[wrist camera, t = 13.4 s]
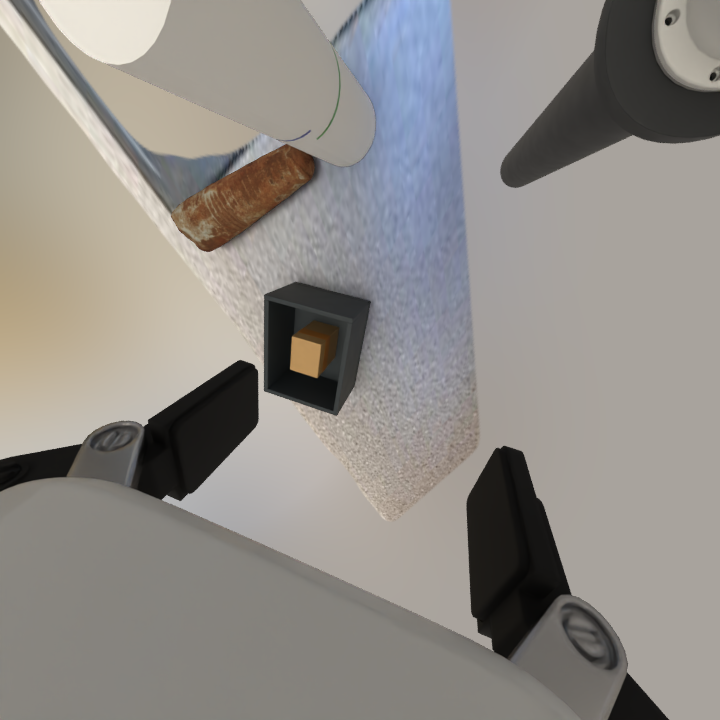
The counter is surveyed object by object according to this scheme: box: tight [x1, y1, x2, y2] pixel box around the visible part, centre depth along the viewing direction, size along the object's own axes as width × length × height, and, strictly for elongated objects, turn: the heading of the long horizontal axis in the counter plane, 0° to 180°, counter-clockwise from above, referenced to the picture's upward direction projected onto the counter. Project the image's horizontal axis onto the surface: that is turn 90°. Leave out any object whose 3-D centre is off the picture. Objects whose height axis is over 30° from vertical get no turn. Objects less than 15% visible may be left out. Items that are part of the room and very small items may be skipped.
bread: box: [171, 144, 315, 252], centre depth 34 cm, size 6×19×6 cm, turn 112°
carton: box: [290, 320, 339, 378], centre depth 39 cm, size 5×4×6 cm
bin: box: [264, 282, 371, 416], centre depth 39 cm, size 14×11×8 cm
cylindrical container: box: [39, 0, 376, 167], centre depth 20 cm, size 7×7×25 cm
